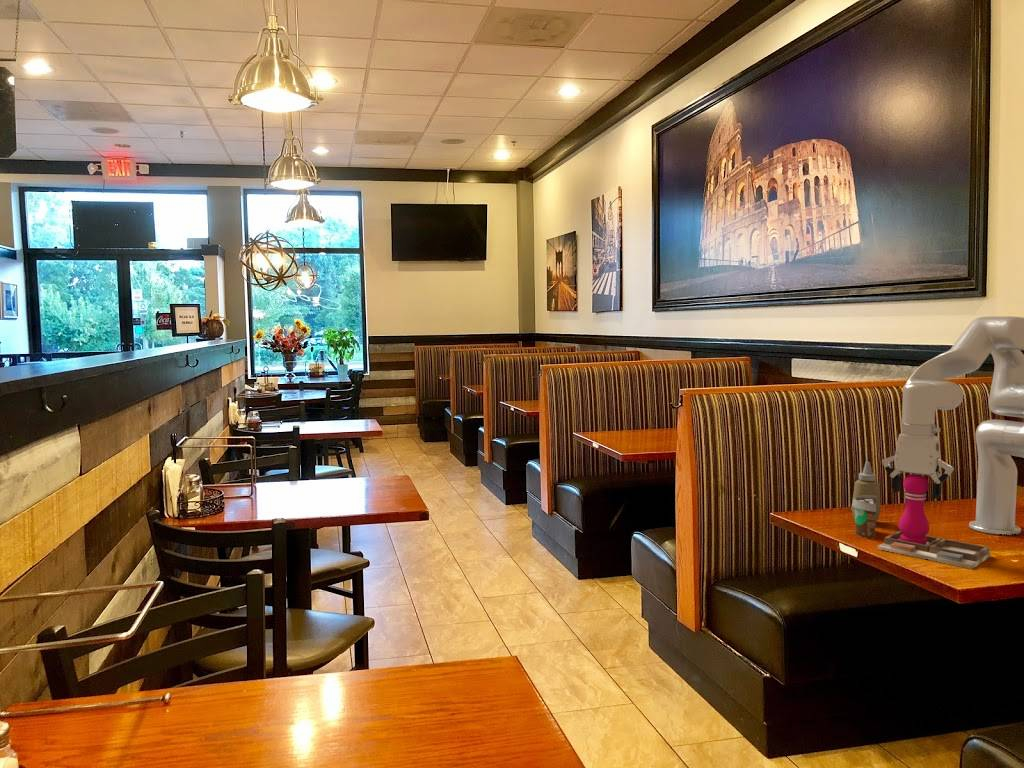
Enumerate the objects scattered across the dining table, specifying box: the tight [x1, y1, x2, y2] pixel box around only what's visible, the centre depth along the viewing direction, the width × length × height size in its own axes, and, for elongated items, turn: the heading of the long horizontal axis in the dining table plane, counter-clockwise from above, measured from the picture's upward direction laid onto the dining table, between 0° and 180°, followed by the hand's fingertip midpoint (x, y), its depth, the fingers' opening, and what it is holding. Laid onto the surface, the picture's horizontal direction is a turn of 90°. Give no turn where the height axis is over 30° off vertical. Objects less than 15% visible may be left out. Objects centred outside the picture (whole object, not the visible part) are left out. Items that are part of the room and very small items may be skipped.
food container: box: [851, 495, 877, 539], centre depth 216 cm, size 12×6×10 cm, turn 154°
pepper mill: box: [898, 473, 930, 545], centre depth 203 cm, size 7×7×20 cm
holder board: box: [877, 530, 992, 570], centre depth 198 cm, size 15×22×2 cm
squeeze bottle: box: [850, 461, 882, 523], centre depth 229 cm, size 8×8×18 cm
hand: (915, 494), depth 202 cm, fingers open, 9 cm apart
